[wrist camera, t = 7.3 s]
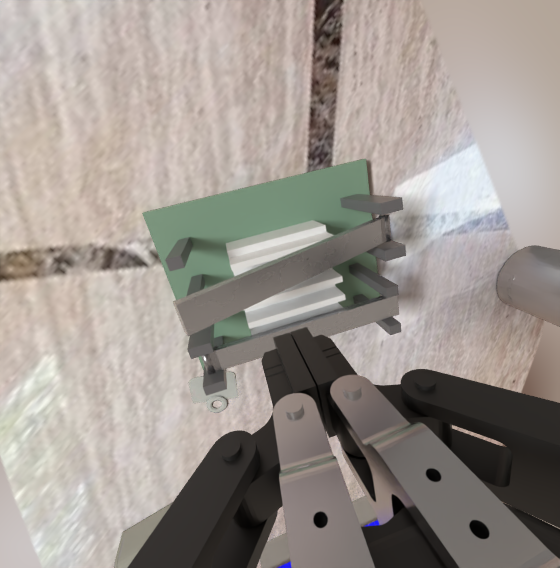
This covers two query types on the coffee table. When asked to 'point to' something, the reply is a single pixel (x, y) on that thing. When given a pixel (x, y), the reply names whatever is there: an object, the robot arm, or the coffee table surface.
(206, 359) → the strap
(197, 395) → the key tag
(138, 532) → the digital clock
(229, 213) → the heatsink board
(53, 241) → the coffee table surface
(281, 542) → the blue ribbed slab
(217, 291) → the strap
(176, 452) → the coffee table surface
